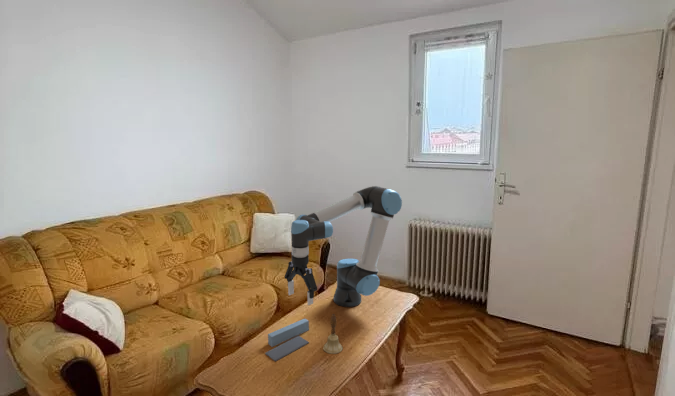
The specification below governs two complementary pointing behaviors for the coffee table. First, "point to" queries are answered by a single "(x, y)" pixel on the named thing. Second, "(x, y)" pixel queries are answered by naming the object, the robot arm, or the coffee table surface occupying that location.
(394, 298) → the coffee table surface
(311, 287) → the robot arm
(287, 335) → the stick
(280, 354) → the mat
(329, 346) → the hand bell
